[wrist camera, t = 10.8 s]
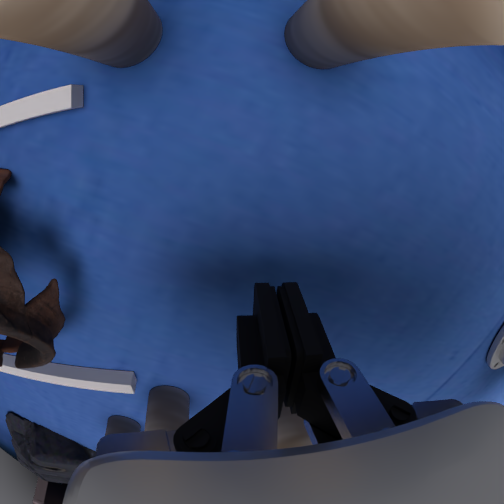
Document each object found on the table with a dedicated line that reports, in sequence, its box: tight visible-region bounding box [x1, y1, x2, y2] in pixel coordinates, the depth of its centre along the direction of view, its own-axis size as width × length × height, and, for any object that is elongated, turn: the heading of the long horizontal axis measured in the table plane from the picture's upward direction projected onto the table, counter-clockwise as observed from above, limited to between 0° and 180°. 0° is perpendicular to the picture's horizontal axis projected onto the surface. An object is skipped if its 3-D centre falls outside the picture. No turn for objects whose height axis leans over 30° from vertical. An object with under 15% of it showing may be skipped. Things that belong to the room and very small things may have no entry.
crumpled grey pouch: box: [6, 413, 97, 484], centre depth 24 cm, size 15×22×5 cm
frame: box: [0, 84, 137, 394], centre depth 12 cm, size 14×18×1 cm
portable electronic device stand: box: [33, 477, 68, 504], centre depth 28 cm, size 9×8×8 cm
